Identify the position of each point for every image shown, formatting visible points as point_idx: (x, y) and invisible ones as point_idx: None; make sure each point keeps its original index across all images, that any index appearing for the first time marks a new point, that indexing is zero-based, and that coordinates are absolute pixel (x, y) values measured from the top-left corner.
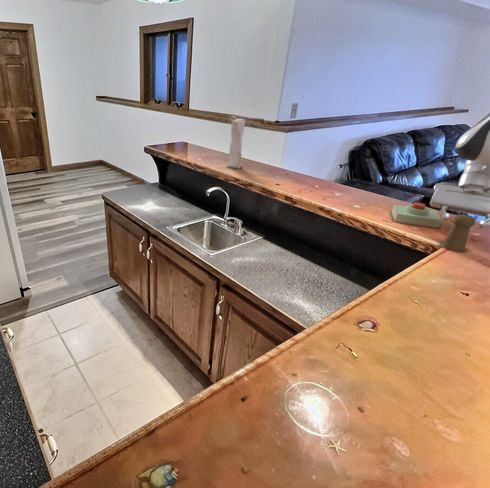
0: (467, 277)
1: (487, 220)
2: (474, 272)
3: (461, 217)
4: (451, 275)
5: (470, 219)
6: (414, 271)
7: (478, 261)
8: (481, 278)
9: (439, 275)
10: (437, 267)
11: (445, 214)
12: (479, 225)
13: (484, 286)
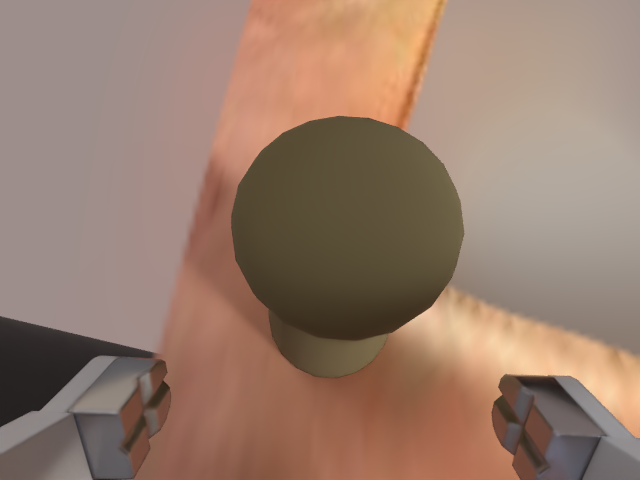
0: (287, 43)
1: (14, 422)
2: (259, 85)
3: (400, 129)
4: (333, 32)
5: (298, 127)
6: (433, 6)
7: (223, 192)
8: (244, 57)
9: (366, 17)
10: (377, 58)
11: (594, 417)
12: (158, 361)
13: (246, 19)
